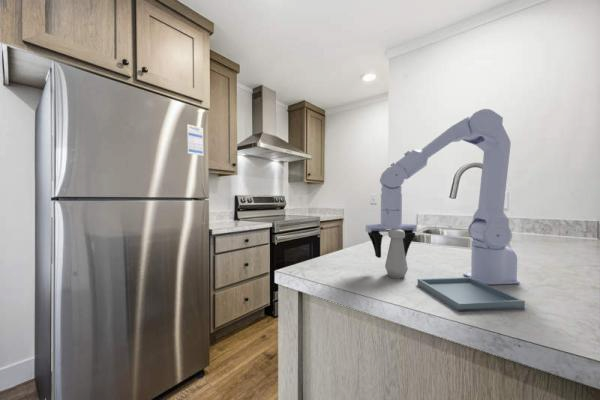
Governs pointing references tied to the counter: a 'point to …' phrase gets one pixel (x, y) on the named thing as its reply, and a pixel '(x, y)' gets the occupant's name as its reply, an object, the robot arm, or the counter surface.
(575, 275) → the counter surface
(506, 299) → the tray
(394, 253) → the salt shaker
